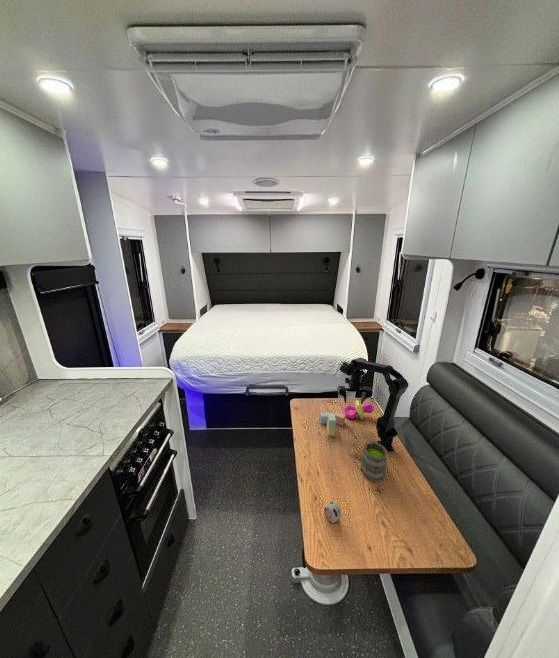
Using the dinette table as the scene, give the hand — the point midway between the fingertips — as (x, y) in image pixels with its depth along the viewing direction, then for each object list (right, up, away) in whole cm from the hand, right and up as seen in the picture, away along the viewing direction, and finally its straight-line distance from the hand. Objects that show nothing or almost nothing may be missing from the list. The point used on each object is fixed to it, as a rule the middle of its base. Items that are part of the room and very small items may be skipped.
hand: (353, 403), depth 149 cm
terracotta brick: (-8, -12, +2) cm, 14 cm away
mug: (0, -22, -29) cm, 36 cm away
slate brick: (-16, -12, +3) cm, 20 cm away
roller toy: (-23, -29, -51) cm, 63 cm away
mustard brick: (-14, -14, -6) cm, 21 cm away
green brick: (-14, -10, -7) cm, 19 cm away
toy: (+5, -10, +8) cm, 14 cm away
